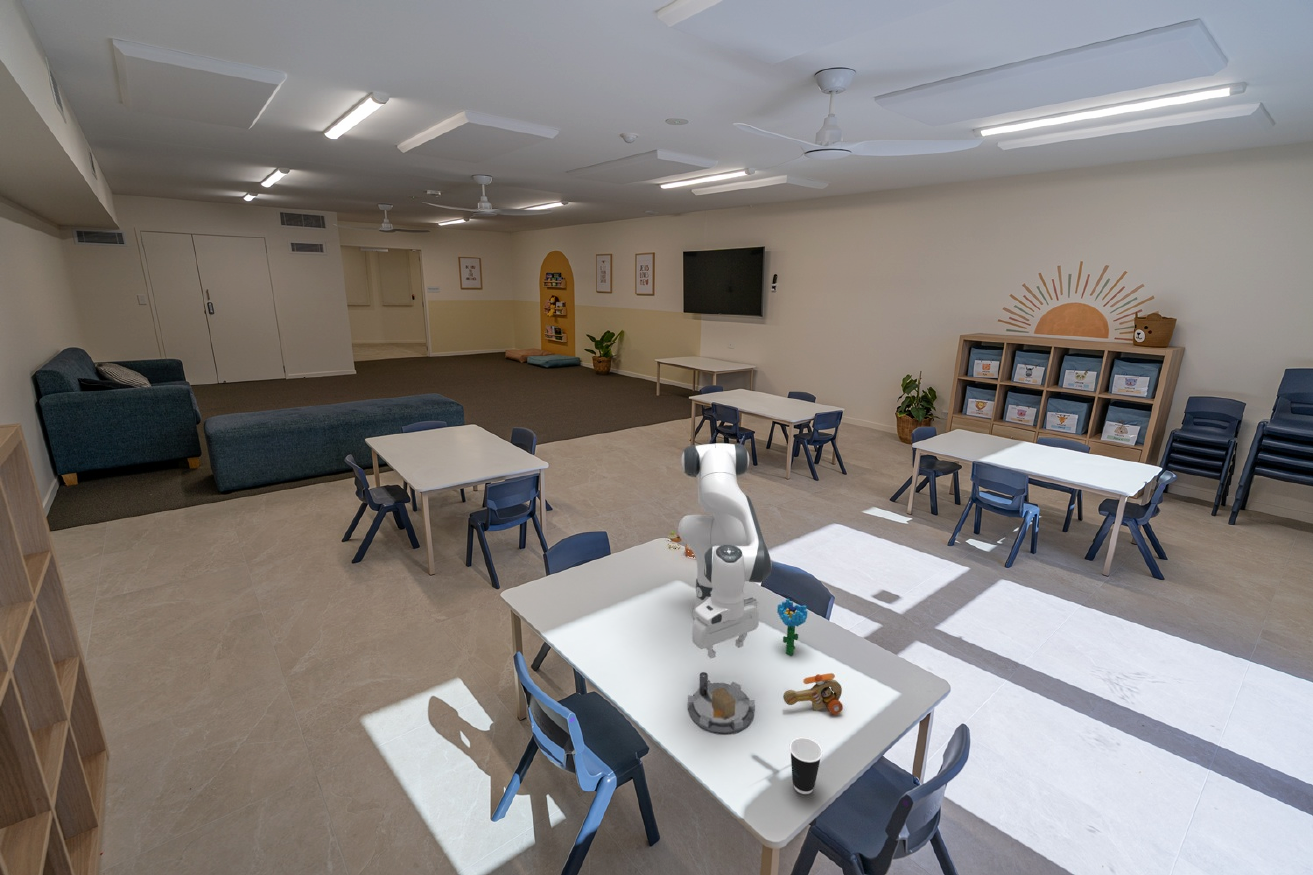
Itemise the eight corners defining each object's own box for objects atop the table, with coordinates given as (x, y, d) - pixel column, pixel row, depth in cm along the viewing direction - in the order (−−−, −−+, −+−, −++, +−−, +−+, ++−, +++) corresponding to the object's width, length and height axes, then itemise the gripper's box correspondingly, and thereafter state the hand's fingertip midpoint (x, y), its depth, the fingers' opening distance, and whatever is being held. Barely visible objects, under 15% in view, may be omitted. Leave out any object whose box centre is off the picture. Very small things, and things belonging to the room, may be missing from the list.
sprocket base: (726, 681, 180) (727, 678, 180) (767, 718, 164) (767, 715, 164) (675, 702, 171) (675, 699, 171) (713, 743, 155) (713, 740, 155)
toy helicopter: (845, 713, 167) (848, 678, 164) (788, 721, 163) (790, 685, 161) (833, 697, 173) (836, 663, 170) (778, 705, 170) (780, 670, 167)
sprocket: (689, 684, 177) (689, 661, 175) (752, 688, 175) (753, 665, 173) (686, 726, 160) (686, 701, 158) (756, 731, 158) (757, 706, 156)
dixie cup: (781, 786, 141) (783, 749, 139) (796, 768, 147) (799, 732, 144) (810, 805, 136) (813, 766, 134) (825, 785, 142) (828, 747, 139)
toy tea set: (718, 555, 270) (719, 536, 267) (698, 566, 258) (698, 546, 256) (675, 540, 287) (675, 522, 284) (654, 550, 275) (654, 531, 273)
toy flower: (784, 642, 201) (787, 595, 197) (808, 653, 195) (811, 604, 191) (770, 654, 194) (773, 605, 190) (794, 665, 189) (798, 615, 184)
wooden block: (734, 714, 160) (735, 699, 159) (724, 719, 159) (725, 703, 157) (721, 702, 165) (722, 687, 164) (711, 706, 164) (712, 691, 162)
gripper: (749, 590, 162) (747, 634, 165) (689, 610, 152) (688, 656, 155) (764, 600, 157) (762, 645, 160) (703, 622, 147) (702, 669, 150)
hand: (725, 651), depth 158 cm, fingers open, 8 cm apart
